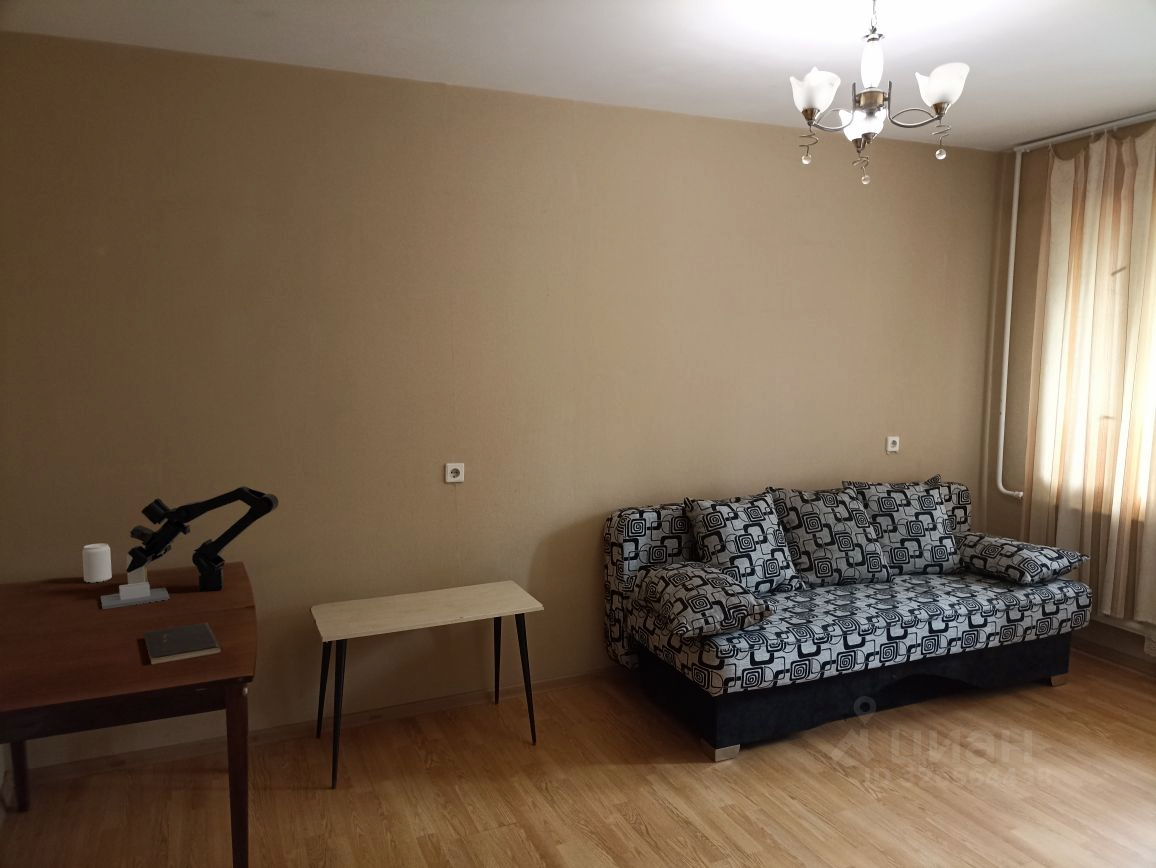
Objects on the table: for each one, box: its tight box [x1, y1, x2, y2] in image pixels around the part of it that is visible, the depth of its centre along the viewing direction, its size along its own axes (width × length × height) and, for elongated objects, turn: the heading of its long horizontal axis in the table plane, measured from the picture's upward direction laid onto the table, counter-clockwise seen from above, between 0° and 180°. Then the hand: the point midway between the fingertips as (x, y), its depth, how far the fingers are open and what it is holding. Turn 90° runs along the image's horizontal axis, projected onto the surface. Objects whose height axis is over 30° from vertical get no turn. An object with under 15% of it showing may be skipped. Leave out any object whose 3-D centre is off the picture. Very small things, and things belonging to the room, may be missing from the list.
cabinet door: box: [124, 553, 148, 585], centre depth 262 cm, size 6×2×12 cm, turn 94°
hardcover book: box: [142, 622, 223, 665], centre depth 210 cm, size 16×23×2 cm
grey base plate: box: [100, 581, 171, 610], centre depth 253 cm, size 18×13×4 cm
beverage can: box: [81, 542, 113, 584], centre depth 276 cm, size 8×8×12 cm
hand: (132, 569), depth 262 cm, fingers open, 6 cm apart
